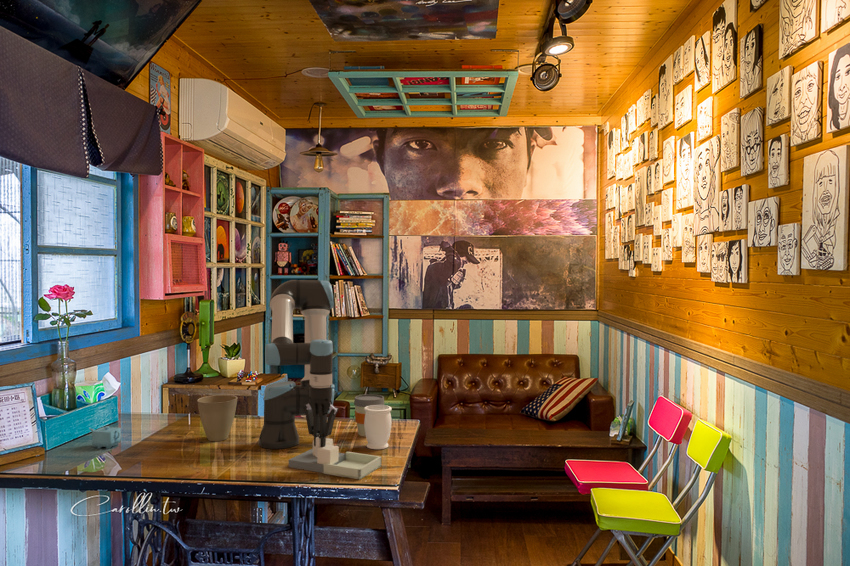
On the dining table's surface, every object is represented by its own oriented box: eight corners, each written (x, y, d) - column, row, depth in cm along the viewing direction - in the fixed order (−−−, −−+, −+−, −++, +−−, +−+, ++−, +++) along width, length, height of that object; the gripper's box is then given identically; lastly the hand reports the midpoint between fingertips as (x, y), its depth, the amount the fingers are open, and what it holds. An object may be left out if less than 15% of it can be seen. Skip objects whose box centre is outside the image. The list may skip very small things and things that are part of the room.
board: (288, 467, 191) (288, 459, 191) (312, 455, 204) (312, 448, 204) (323, 473, 186) (323, 465, 186) (345, 460, 199) (345, 453, 199)
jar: (387, 451, 210) (387, 411, 210) (360, 449, 212) (360, 409, 212) (394, 443, 220) (394, 405, 220) (368, 441, 222) (369, 403, 222)
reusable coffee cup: (358, 438, 226) (359, 401, 226) (349, 431, 238) (350, 395, 238) (388, 435, 231) (388, 399, 231) (378, 428, 243) (378, 393, 243)
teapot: (83, 448, 209) (83, 428, 209) (93, 443, 215) (94, 424, 215) (114, 449, 208) (115, 429, 208) (124, 444, 214) (124, 424, 214)
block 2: (317, 463, 188) (317, 448, 188) (325, 459, 192) (326, 444, 192) (330, 465, 186) (330, 450, 186) (338, 461, 190) (338, 446, 190)
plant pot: (217, 432, 234) (217, 393, 234) (245, 436, 227) (245, 397, 227) (188, 441, 220) (188, 400, 220) (216, 446, 214) (217, 404, 214)
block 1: (312, 455, 196) (312, 440, 196) (320, 451, 201) (320, 437, 201) (324, 457, 194) (325, 442, 194) (332, 453, 199) (332, 439, 199)
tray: (323, 473, 185) (323, 463, 185) (346, 460, 199) (347, 451, 199) (359, 479, 180) (360, 469, 180) (381, 466, 194) (381, 456, 194)
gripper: (298, 386, 189) (296, 456, 189) (331, 389, 184) (329, 462, 184) (311, 382, 196) (310, 450, 196) (343, 385, 191) (342, 455, 191)
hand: (319, 456), depth 190 cm, fingers closed
